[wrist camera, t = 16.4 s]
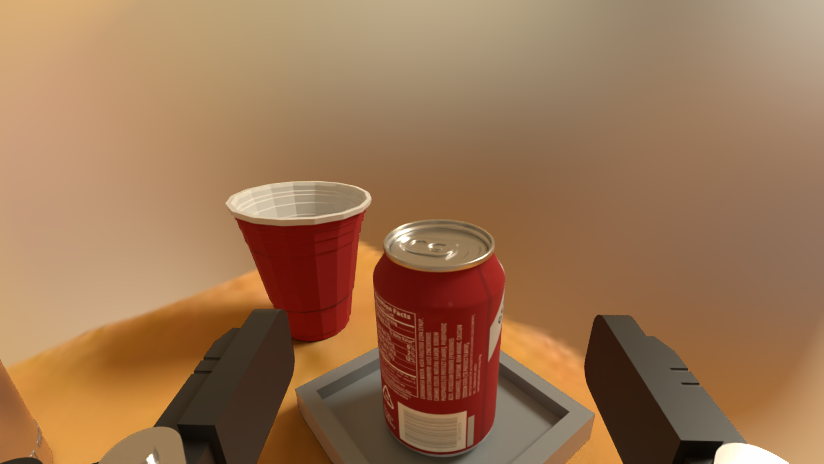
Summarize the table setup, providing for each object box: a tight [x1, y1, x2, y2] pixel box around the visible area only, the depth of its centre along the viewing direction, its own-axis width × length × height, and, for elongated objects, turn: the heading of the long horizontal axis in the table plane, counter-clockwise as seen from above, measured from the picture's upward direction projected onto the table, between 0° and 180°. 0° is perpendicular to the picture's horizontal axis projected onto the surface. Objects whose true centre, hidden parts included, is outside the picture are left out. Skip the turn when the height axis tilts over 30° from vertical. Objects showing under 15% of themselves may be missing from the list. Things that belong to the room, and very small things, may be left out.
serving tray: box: [295, 347, 595, 464], centre depth 25 cm, size 13×13×2 cm
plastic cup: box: [226, 181, 371, 342], centre depth 33 cm, size 11×11×12 cm
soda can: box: [373, 219, 505, 457], centre depth 22 cm, size 7×7×12 cm
